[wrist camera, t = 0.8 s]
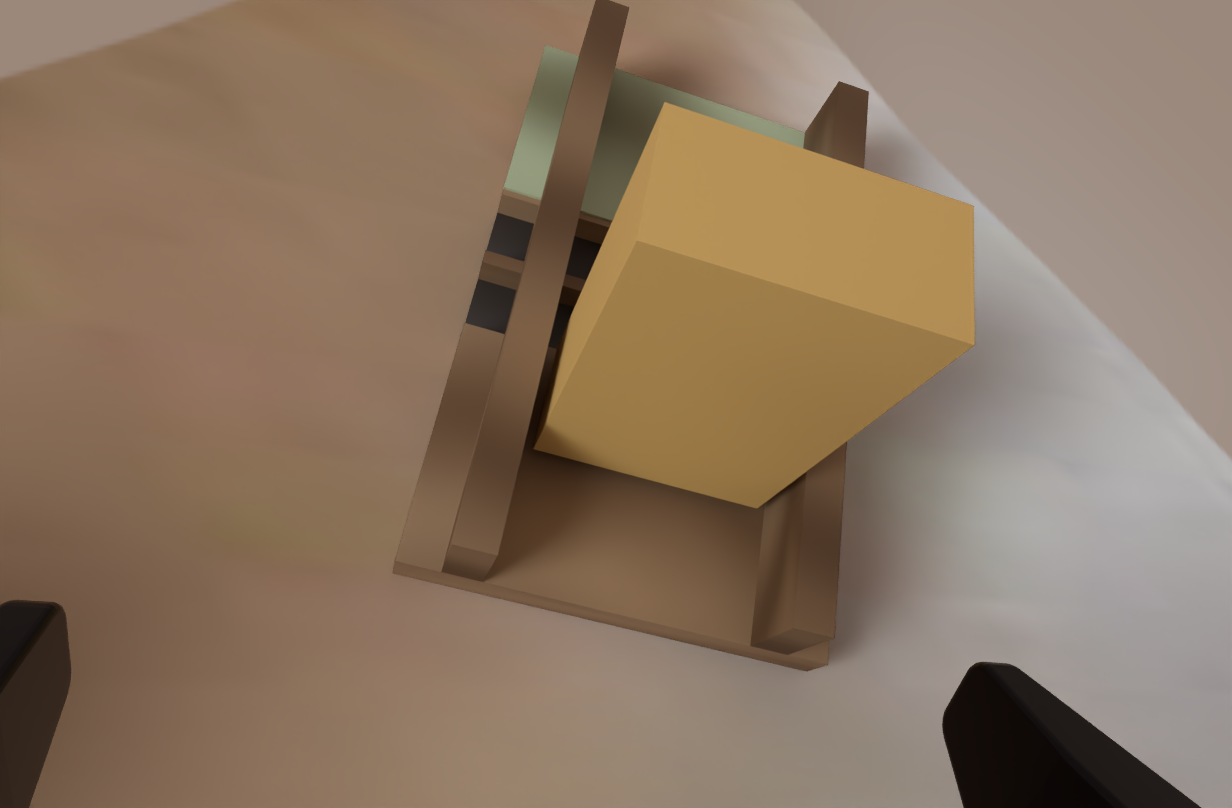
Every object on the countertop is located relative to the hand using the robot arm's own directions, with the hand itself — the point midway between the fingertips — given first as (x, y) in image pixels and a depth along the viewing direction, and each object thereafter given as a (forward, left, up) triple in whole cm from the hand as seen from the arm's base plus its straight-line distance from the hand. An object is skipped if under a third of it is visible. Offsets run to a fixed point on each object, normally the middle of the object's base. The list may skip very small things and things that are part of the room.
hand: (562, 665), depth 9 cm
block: (+4, -8, -12) cm, 15 cm away
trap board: (+7, -10, -13) cm, 18 cm away
